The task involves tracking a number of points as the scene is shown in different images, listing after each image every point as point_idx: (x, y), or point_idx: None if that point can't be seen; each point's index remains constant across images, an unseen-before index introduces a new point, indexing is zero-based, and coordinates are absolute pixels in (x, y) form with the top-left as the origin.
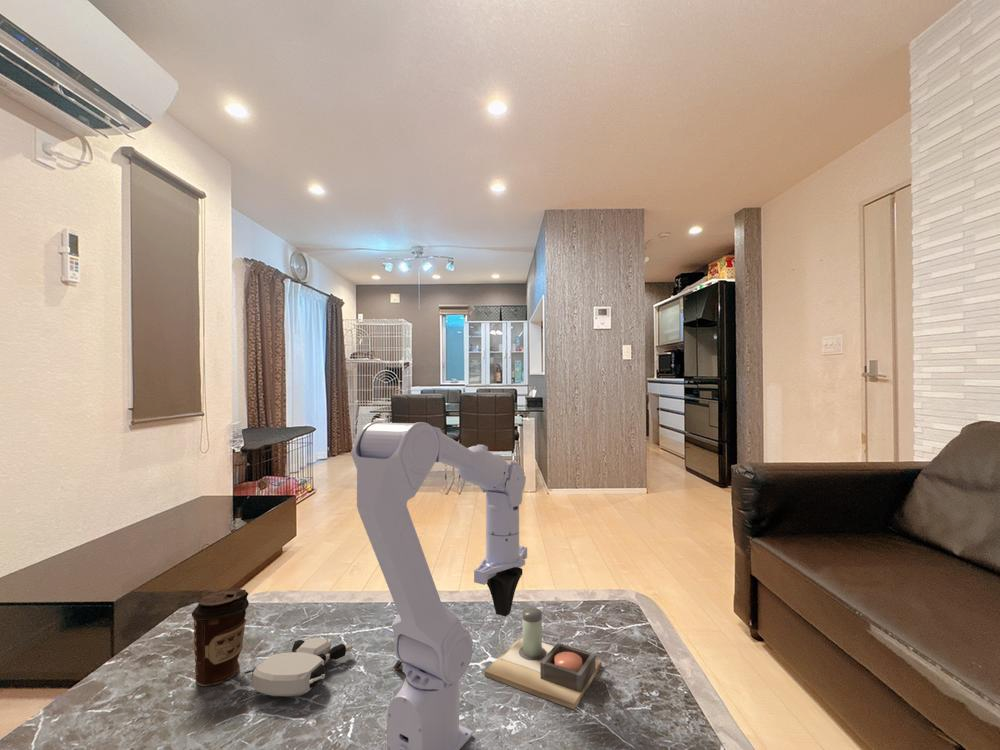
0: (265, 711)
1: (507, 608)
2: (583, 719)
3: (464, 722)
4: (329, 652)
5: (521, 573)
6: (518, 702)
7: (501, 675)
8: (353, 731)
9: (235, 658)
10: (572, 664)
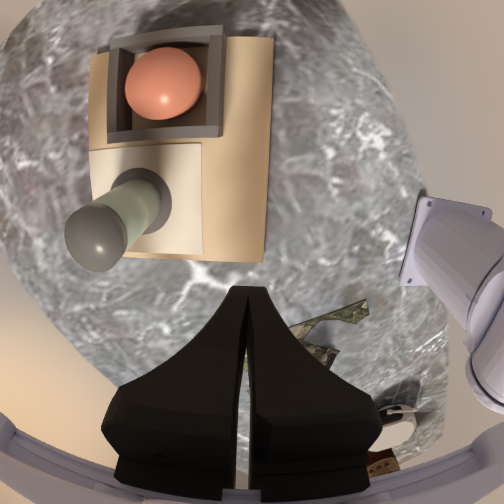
0: (414, 404)
1: (270, 301)
2: (291, 20)
3: (396, 223)
4: None
5: (140, 399)
6: (309, 153)
7: (259, 223)
8: (435, 334)
9: (378, 458)
10: (178, 62)
